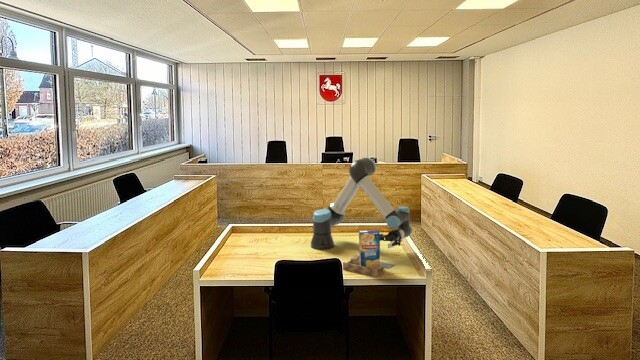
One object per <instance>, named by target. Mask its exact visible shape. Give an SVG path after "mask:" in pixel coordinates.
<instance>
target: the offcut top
mask: <svg viewBox="0 0 640 360" xmlns="http://www.w3.org/2000/svg"><path fill="white" fill-rule="evenodd" d="M349 261H351V264H355V265H356V264H357V263H358V262H359V255H356V254H355V255H353V256H352V257H351V258H350V260H349Z"/></svg>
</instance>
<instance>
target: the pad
mask: <svg viewBox="0 0 640 360" xmlns="http://www.w3.org/2000/svg"><path fill="white" fill-rule="evenodd" d="M393 266H395V264H394V263H388V262H384V261H380V268H382V267H384V269H391V268H393Z"/></svg>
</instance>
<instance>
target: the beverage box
mask: <svg viewBox="0 0 640 360" xmlns="http://www.w3.org/2000/svg"><path fill="white" fill-rule="evenodd" d="M380 234H381V232H380V231H379V230H359V231H358V249H359V250H358V252H359V253H358V256H359V265H360V266H364V267H369V268H373V269H377V270H378V269H380V268H381V267H380V262H381V257H380V256H381V241H380Z"/></svg>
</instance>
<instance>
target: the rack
mask: <svg viewBox="0 0 640 360" xmlns="http://www.w3.org/2000/svg"><path fill="white" fill-rule="evenodd" d="M350 263H351V261H350V260H348V261H347V262H345V261H344V262H342V269H343V270H344V271H348V272H353V273H356V274H363V275H367V276H370V277H375V278H376V277H379V276H381V275H382V274H383V273H384V272H385V268H384V267H380V269H378V270H377V269H373V268H369V267H364V266H360V265H355V264H350Z"/></svg>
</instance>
